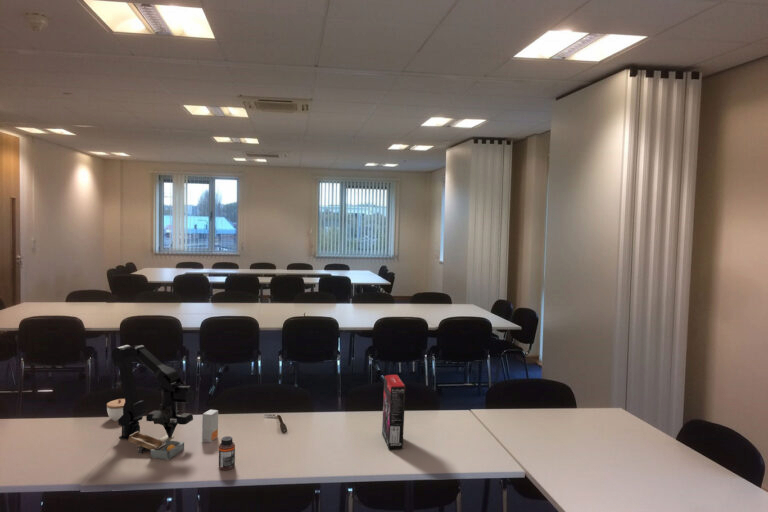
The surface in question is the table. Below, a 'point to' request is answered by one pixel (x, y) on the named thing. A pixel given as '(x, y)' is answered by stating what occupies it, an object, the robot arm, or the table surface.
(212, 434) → the skincare box
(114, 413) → the lidded jar
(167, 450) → the ball
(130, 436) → the lever
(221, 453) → the supplement bottle
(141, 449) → the fulcrum
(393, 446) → the graphics card box
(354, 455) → the table surface
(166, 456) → the tray
